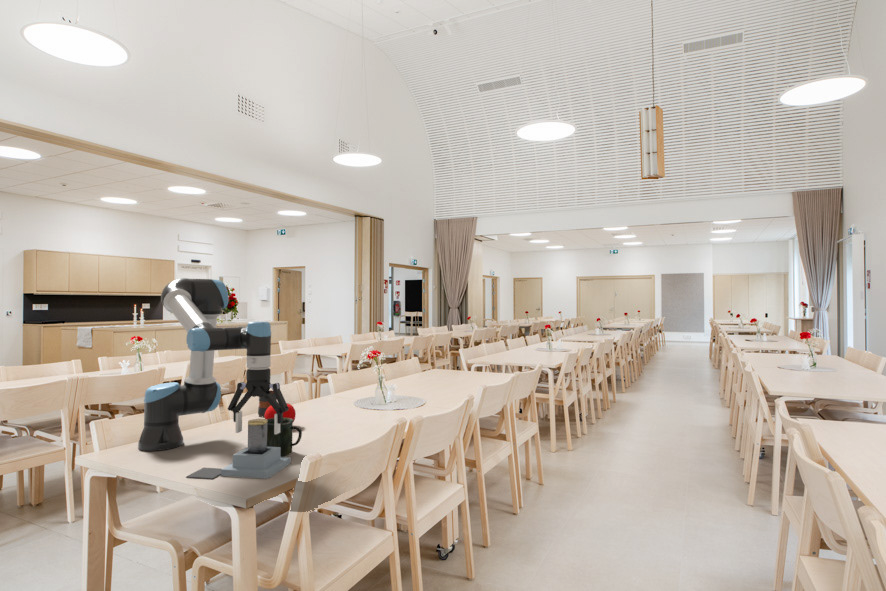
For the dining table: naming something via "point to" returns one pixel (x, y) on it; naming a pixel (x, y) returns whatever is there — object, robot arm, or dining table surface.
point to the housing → (256, 464)
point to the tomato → (288, 414)
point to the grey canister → (257, 436)
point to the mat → (206, 473)
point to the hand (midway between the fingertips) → (257, 432)
